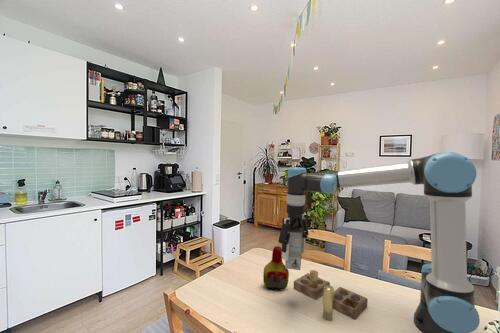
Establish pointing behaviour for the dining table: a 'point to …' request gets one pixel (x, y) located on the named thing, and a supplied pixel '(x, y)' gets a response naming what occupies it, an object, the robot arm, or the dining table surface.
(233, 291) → the dining table surface
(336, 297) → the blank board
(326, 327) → the dining table surface
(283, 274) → the bottle
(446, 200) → the robot arm
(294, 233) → the coffee box
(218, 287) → the dining table surface
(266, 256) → the dining table surface
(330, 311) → the peg
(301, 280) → the board
